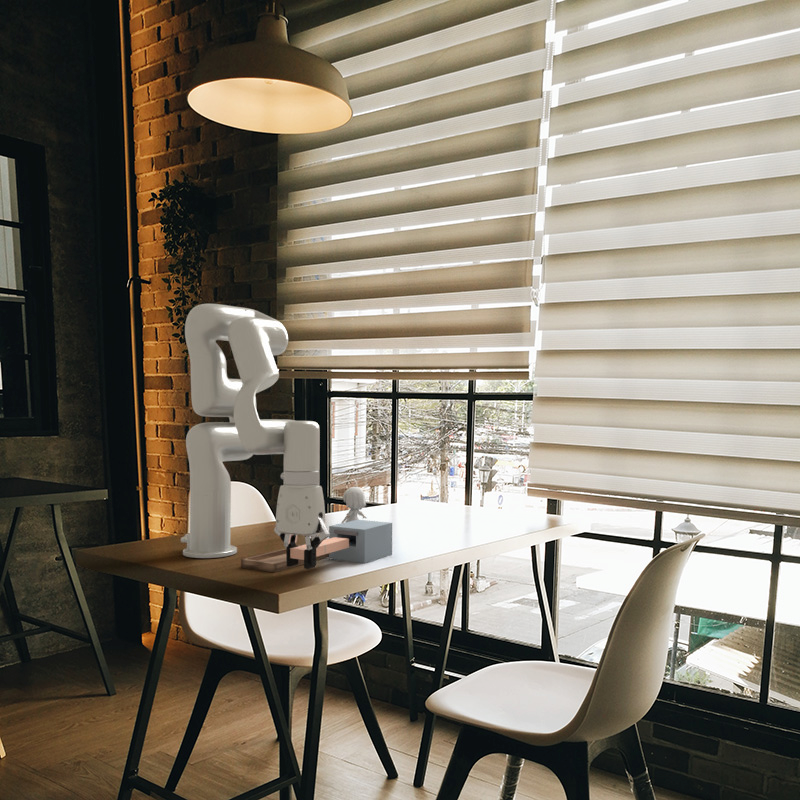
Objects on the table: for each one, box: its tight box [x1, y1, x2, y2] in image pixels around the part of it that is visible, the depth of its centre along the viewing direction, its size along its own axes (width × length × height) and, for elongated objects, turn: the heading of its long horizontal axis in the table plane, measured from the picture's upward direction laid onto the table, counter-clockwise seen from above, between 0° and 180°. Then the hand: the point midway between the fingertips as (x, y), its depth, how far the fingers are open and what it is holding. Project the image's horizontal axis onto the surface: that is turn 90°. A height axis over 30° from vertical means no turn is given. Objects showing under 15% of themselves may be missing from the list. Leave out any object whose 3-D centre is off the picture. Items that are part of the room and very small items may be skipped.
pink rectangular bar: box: [290, 537, 349, 560], centre depth 158 cm, size 4×16×2 cm, turn 150°
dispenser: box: [328, 519, 393, 564], centre depth 171 cm, size 10×12×8 cm
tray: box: [240, 543, 329, 573], centre depth 166 cm, size 10×22×2 cm, turn 150°
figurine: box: [340, 486, 367, 524], centre depth 187 cm, size 10×6×15 cm, turn 146°
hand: (301, 565), depth 152 cm, fingers closed on pink rectangular bar, 4 cm apart
